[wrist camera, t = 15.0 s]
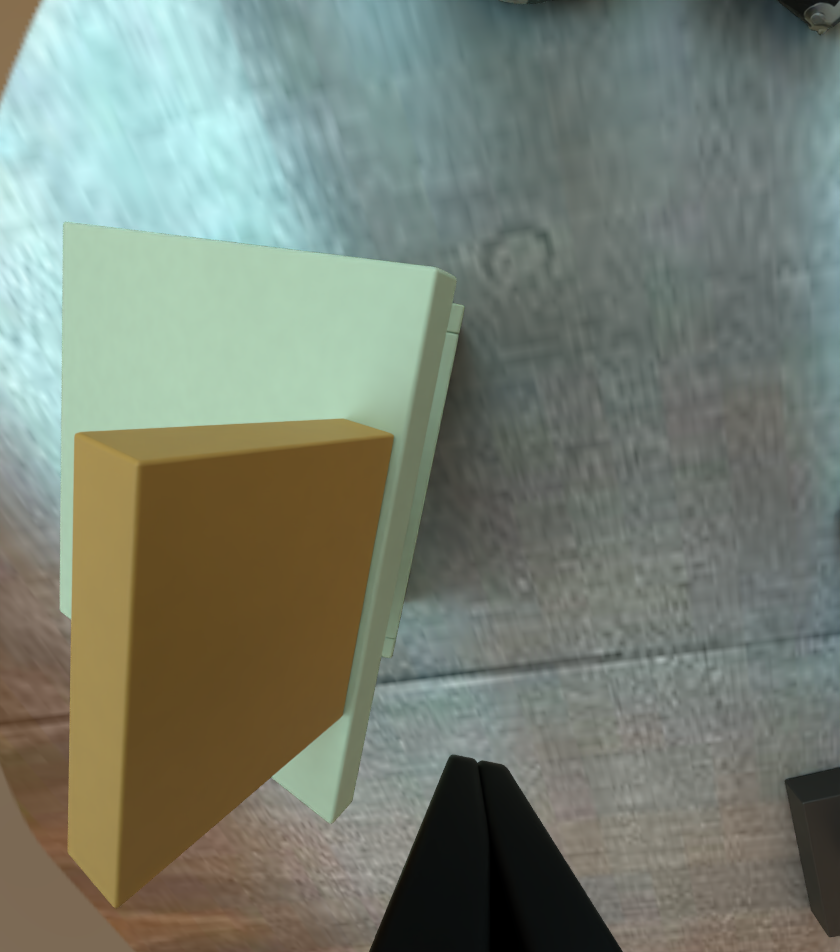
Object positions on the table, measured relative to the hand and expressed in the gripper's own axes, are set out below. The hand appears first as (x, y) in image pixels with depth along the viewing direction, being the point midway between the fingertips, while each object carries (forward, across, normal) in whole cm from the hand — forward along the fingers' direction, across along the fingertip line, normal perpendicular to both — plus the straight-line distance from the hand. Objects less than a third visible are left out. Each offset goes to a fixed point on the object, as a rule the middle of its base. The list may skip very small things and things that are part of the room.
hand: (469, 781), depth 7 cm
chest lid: (+6, +7, -1) cm, 9 cm away
